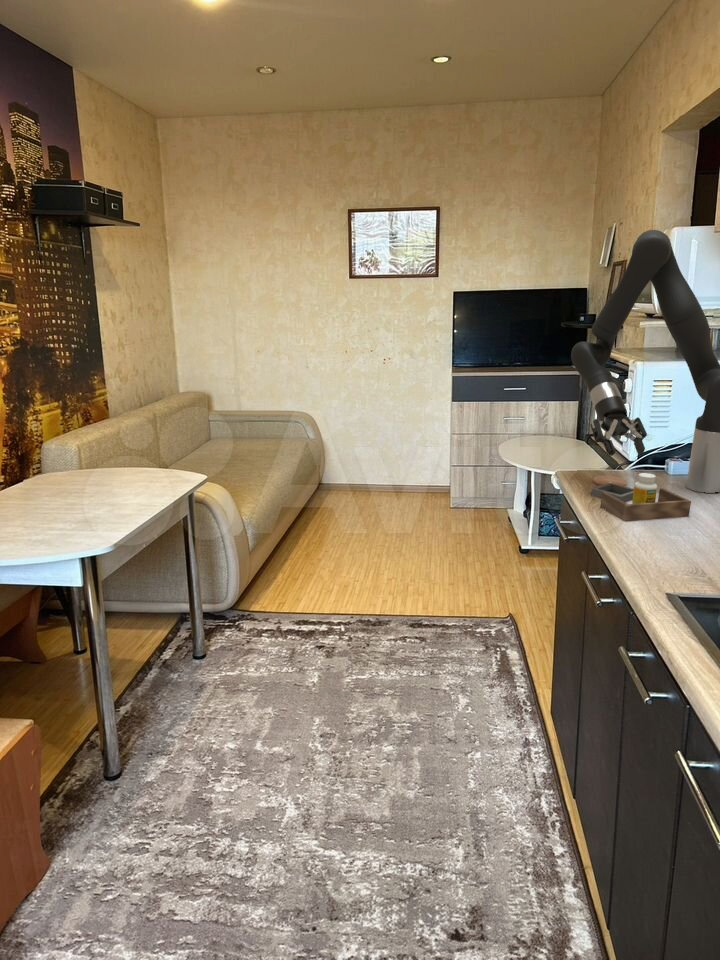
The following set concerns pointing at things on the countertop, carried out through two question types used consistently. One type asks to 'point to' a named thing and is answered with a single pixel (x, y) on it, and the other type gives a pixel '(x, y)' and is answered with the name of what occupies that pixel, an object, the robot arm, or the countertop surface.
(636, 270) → the robot arm
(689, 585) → the countertop surface
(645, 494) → the supplement bottle
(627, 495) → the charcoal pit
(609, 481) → the tan round disc
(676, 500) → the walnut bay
